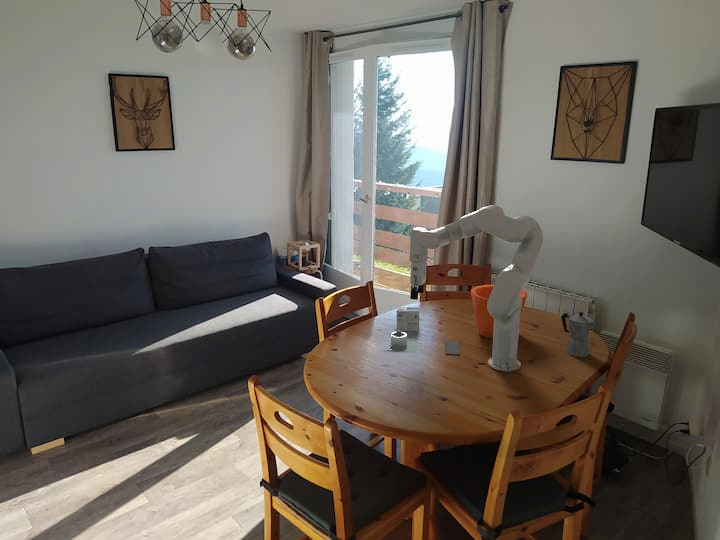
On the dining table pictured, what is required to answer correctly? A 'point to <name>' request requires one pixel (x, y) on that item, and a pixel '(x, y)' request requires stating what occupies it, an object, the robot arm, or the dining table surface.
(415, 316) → the light bulb box
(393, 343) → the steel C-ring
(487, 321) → the flowerpot
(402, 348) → the peg stand
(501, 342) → the robot arm
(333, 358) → the dining table surface
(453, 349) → the charcoal mat
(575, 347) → the coffeepot
